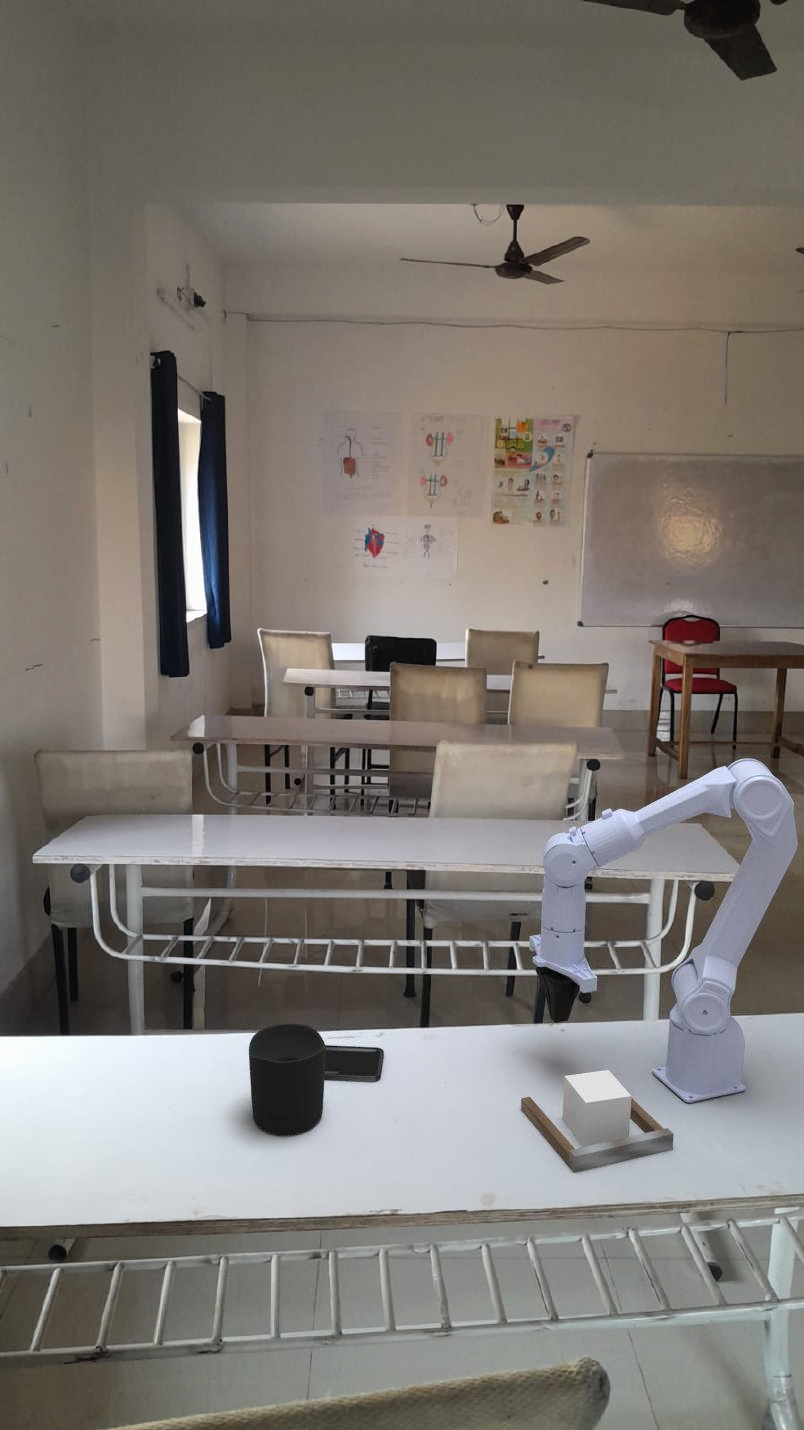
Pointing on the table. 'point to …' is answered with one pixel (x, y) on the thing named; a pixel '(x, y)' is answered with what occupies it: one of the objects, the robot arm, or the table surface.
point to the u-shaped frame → (608, 1151)
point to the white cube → (596, 1107)
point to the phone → (353, 1063)
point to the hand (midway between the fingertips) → (559, 1019)
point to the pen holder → (287, 1078)
